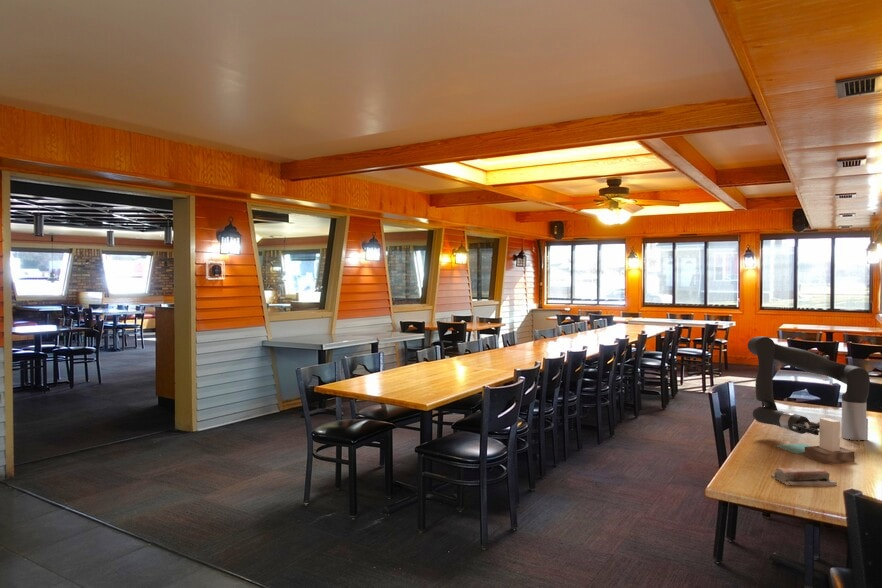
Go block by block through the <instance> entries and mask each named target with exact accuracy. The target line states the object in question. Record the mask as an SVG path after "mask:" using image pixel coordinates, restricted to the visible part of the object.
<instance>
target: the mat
mask: <svg viewBox="0 0 882 588" xmlns="http://www.w3.org/2000/svg"><path fill="white" fill-rule="evenodd" d="M810 446H811V445H809V444H807V443H804V442H803V443H789V444H778V445H776V447H777V448H779V447H780V448H779V449H782V448H783V449H782V450H785V451H787V450H788V451H787V452H790V451H791V452H790V453H794V454H797V455H805V447H810Z"/></svg>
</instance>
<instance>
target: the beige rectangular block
mask: <svg viewBox="0 0 882 588" xmlns="http://www.w3.org/2000/svg"><path fill="white" fill-rule="evenodd" d="M819 422H820V429H819V430H820V432H819V441H818V442H819V445H818V446H819V447H820V448H823V449H826V450H829V451H832V452H834V451H840V447H841V446H840V445H841V443H840V442H841V441H840V440H841V438H840V437H841V421H839V420H836V419H833V418H829V417H823V418H822V417H820V418H819Z"/></svg>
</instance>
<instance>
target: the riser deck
mask: <svg viewBox="0 0 882 588" xmlns="http://www.w3.org/2000/svg"><path fill="white" fill-rule="evenodd" d="M855 454H856V452H855V451H854V450H851V449H847V448H844V447H842V446H840V451H834V452H832V451H829V450H826V449H823V448H820V447H819V445H810V447H805V454H804V457H805V458H808V459H811V460H813V461H816V462H819V463H821V464H824V465H828V464H831V463H832V464H841V463H852V462H853V463H854V462H856V461H855V460H856V458H855V456H856V455H855Z"/></svg>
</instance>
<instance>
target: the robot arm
mask: <svg viewBox="0 0 882 588" xmlns="http://www.w3.org/2000/svg"><path fill="white" fill-rule="evenodd" d="M747 349H748V351H749V352H750V353H751V354H752V355H754V356H756V357H757V362H758V367H757V368H758V369H757V374H756V378H755V398H756V400H757V401H758V402H762V403H763V406H758V407H755V408H754V409H753V411H752V417H753V419H754V420H755V421H756V422H758V423H761V424H766V425H771V426H772V425H773V426H776V427H779V428H783V429H786V430H788V431H790V432H793V433H796V434H800V435H803V434H810V435H814V436H820V421H819V422H817V423H816V422H813V421H811V420H810V419H809V418H808V417H806V416H803V415H801V414H800V415H799V414H796V413H792V412H787V411H783V410H779V409H778V407H777V404H776V401H775V399H774V389H773V386H774V383H773V369H774V360H775V361H778V362H780V363H783V364H785V365H787V366H789V367H793V368H795V369H798V370H801V371H804V372H807V373H811V374H815V375H819V376H820V375H823V376H826V377H830V378H832V379H834V380H836V381H838V382H841V383H843V384H844V385H846V390H845V392H844V393H842V394H841V424H840V437H841V438H843V439H844V440H845V439H846V440H849V439H850V440H849V441H856V440H858V441H859V442H861V441H860V440H864V441H866V440H869V439H868V437H869V436H868V435H869V434H868V433H869V427H868V426H869V419H868V418H867V401H868V400H867V399H868V397H869V395H870V383H871V381H870V380H871V379H870V374H869V372H868V371H867V370H866V369H865V368H863V367H861V366H856V365H853V364H852V365H851V364H846V363H845V364H844V363H840V362H837V361H832V360H830V359H828V358H826V357H825V356H822V355H820V354H817V353H815V352H812V351H809V350H806V349H801V348H796V347H792V346H791V347H790V346H786V345H781V344H778V343H775V342H774V340H773V339H772V338H770V337H768V336H761V335H760V336H755V337H752V338H750V339H749V340H748V342H747ZM858 441H857V442H858Z"/></svg>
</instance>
